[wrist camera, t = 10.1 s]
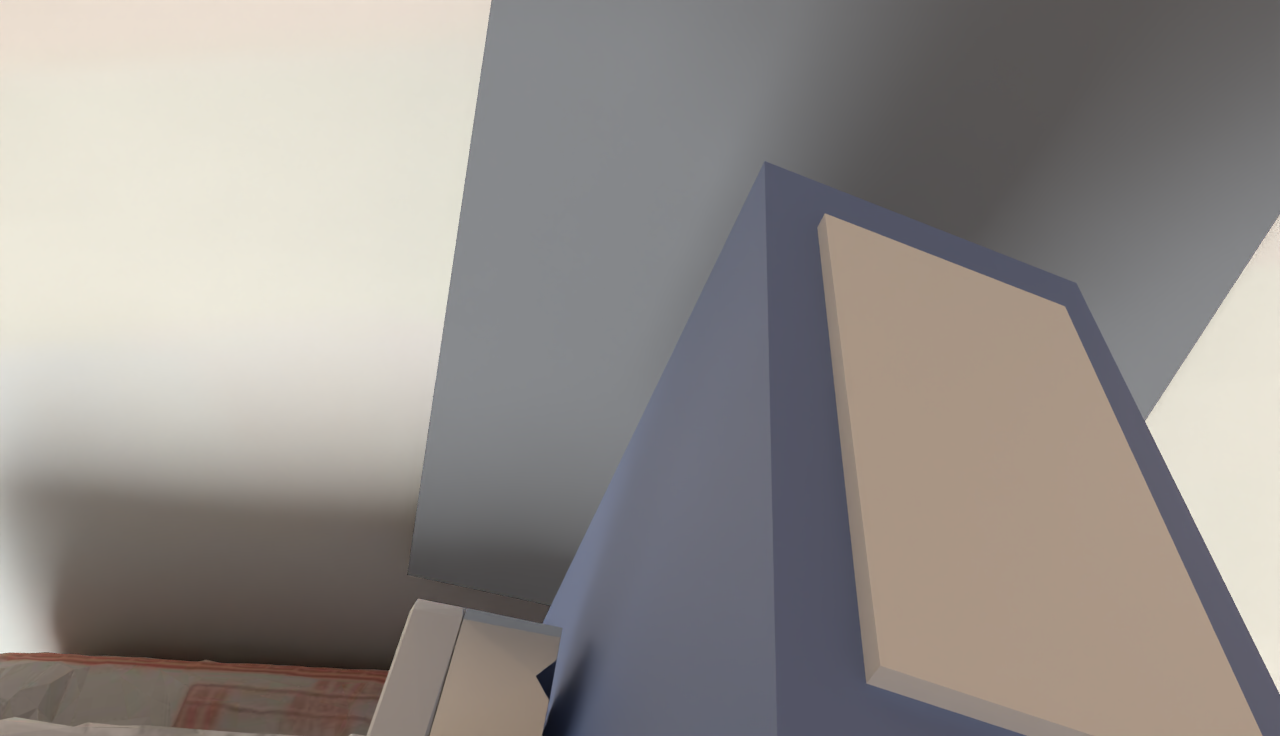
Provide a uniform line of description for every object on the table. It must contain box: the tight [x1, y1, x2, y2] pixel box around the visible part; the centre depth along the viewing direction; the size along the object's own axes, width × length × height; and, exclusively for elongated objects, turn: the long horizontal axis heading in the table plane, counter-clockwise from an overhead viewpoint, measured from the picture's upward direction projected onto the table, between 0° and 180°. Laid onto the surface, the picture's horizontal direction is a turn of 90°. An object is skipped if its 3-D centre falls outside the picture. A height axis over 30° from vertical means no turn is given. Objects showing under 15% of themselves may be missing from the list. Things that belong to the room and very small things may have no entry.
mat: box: [407, 0, 1280, 606], centre depth 16 cm, size 16×11×1 cm
